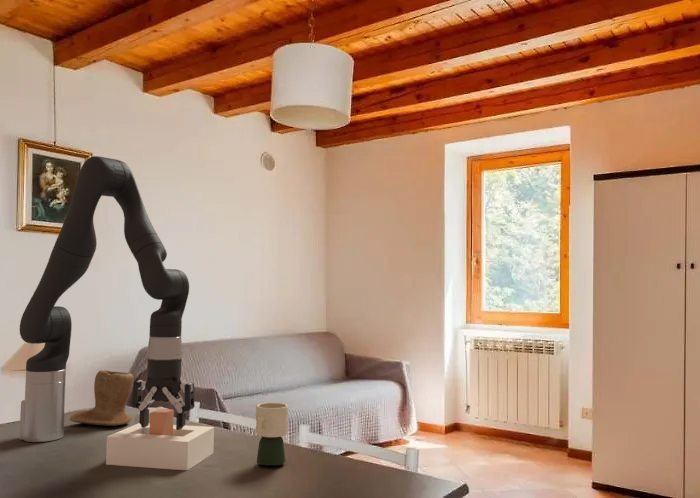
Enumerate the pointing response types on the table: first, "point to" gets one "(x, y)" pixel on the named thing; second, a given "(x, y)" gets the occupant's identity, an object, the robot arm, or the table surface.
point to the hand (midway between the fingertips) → (162, 427)
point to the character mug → (271, 432)
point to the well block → (160, 447)
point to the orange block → (161, 422)
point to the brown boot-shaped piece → (108, 400)
